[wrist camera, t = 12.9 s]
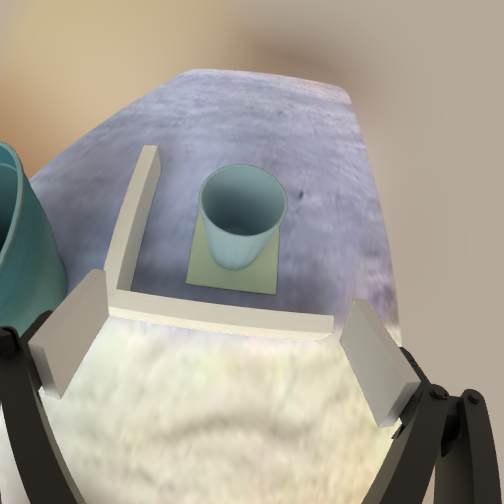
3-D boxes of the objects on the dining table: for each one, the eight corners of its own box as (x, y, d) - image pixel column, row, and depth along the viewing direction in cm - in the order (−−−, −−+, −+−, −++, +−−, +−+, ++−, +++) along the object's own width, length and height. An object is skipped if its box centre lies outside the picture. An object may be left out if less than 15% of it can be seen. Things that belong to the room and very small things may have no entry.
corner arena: (109, 315, 31) (94, 303, 26) (148, 169, 39) (143, 144, 35) (316, 341, 33) (333, 333, 28) (316, 192, 41) (328, 169, 37)
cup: (186, 254, 35) (180, 204, 25) (225, 208, 38) (233, 151, 28) (241, 293, 34) (255, 255, 24) (277, 242, 37) (301, 192, 27)
